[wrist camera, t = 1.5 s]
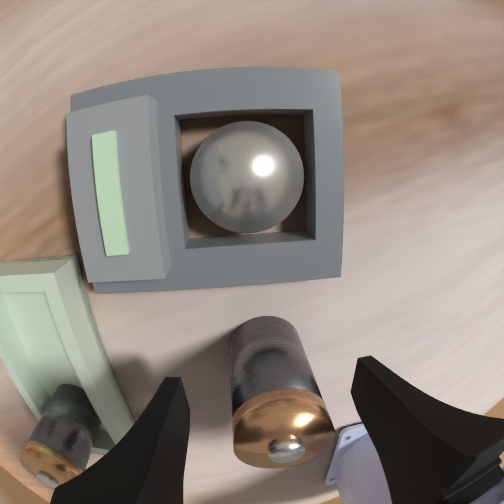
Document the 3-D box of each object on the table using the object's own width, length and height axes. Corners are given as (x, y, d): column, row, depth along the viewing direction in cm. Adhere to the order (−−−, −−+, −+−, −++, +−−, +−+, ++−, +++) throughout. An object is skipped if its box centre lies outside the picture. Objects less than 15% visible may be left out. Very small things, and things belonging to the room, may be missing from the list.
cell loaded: (112, 423, 15) (88, 504, 9) (69, 417, 14) (39, 488, 8) (92, 386, 13) (55, 474, 7) (48, 380, 13) (5, 455, 7)
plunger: (302, 227, 11) (304, 229, 11) (196, 234, 11) (195, 236, 11) (299, 121, 10) (302, 120, 10) (187, 126, 10) (186, 125, 9)
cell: (298, 367, 15) (330, 467, 8) (232, 374, 14) (238, 480, 8) (300, 312, 13) (346, 415, 7) (226, 318, 13) (228, 431, 7)
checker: (329, 264, 13) (353, 291, 10) (106, 279, 12) (81, 309, 9) (326, 79, 10) (354, 60, 8) (86, 100, 10) (52, 89, 7)
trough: (141, 434, 16) (136, 459, 14) (64, 423, 15) (55, 444, 13) (77, 254, 12) (54, 273, 10) (-8, 262, 11) (-32, 277, 9)
